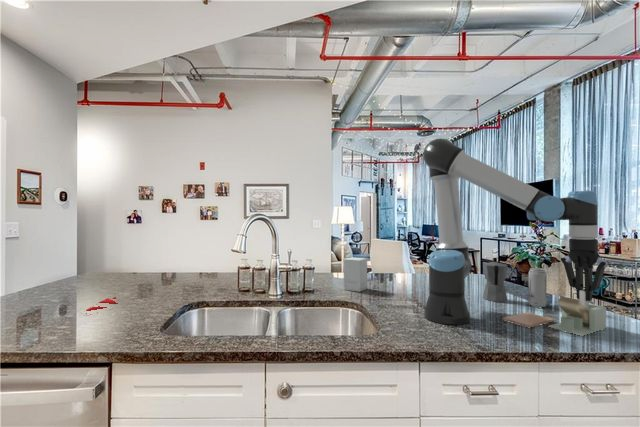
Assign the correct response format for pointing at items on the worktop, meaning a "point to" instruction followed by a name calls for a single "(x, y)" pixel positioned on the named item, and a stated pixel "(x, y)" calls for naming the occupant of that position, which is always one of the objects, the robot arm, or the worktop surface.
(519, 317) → the terracotta tile
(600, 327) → the pocket block
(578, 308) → the beech bar
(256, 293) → the worktop surface
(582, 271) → the robot arm
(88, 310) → the cloth
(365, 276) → the supplement box
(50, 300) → the worktop surface
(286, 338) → the worktop surface
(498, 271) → the coffeepot
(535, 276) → the energy drink can
